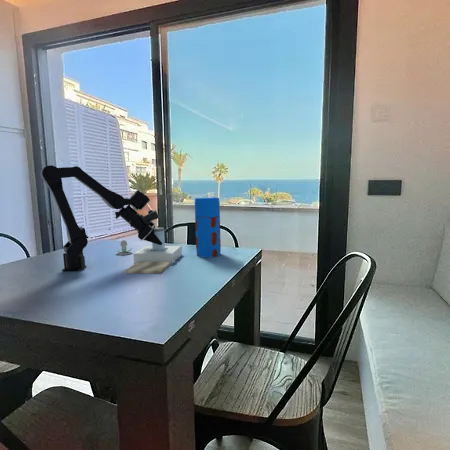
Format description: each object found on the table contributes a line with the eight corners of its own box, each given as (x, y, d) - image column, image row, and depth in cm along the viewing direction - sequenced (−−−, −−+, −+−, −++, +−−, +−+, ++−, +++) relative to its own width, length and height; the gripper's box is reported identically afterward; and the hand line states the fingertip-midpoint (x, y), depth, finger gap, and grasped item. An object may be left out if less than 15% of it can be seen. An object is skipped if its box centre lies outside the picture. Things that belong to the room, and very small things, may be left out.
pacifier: (132, 255, 148) (132, 252, 154) (131, 241, 147) (131, 239, 153) (115, 256, 147) (116, 253, 152) (114, 242, 146) (115, 240, 152)
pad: (125, 273, 117) (125, 270, 117) (138, 264, 130) (138, 261, 130) (161, 273, 116) (160, 270, 116) (170, 264, 128) (170, 261, 128)
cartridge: (151, 260, 136) (149, 229, 135) (155, 257, 141) (153, 227, 140) (163, 260, 136) (161, 229, 134) (166, 257, 141) (165, 227, 139)
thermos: (193, 253, 147) (191, 198, 144) (214, 251, 152) (213, 197, 148) (201, 258, 137) (199, 198, 134) (224, 255, 142) (223, 197, 139)
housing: (133, 263, 131) (133, 253, 131) (147, 254, 147) (146, 245, 147) (172, 263, 130) (172, 253, 129) (182, 254, 146) (181, 245, 145)
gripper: (145, 205, 126) (175, 232, 129) (148, 202, 144) (174, 226, 147) (125, 226, 126) (155, 253, 129) (131, 221, 144) (157, 244, 147)
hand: (161, 243), depth 138 cm, fingers closed on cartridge, 5 cm apart
